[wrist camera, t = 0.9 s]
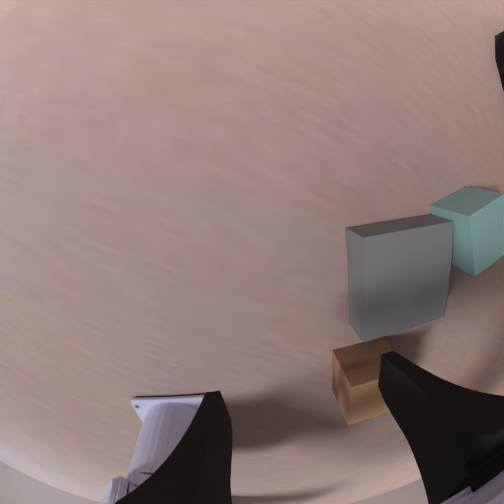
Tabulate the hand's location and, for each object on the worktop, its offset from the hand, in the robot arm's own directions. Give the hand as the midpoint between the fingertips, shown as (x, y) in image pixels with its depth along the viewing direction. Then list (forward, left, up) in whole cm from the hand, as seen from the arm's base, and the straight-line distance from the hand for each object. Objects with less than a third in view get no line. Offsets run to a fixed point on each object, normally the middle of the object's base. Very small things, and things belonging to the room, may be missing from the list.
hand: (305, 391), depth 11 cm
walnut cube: (-9, -7, -10) cm, 15 cm away
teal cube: (+3, -17, -10) cm, 20 cm away
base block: (0, -10, -10) cm, 14 cm away
